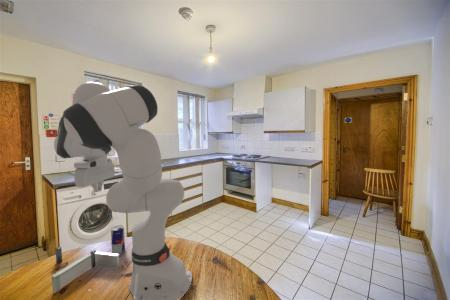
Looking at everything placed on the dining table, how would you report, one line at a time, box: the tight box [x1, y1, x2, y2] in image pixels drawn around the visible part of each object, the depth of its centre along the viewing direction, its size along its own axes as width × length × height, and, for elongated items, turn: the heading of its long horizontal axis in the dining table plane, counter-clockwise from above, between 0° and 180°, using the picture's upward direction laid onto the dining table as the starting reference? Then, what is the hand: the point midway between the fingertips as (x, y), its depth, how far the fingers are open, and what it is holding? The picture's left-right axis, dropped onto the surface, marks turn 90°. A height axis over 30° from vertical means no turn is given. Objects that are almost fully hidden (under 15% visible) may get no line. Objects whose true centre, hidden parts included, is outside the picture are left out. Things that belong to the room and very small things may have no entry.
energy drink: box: [110, 224, 126, 256], centre depth 94 cm, size 5×5×12 cm
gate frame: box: [54, 246, 120, 271], centre depth 85 cm, size 29×2×6 cm, turn 81°
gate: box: [51, 253, 93, 293], centre depth 77 cm, size 13×2×5 cm, turn 162°
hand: (97, 191), depth 92 cm, fingers closed
